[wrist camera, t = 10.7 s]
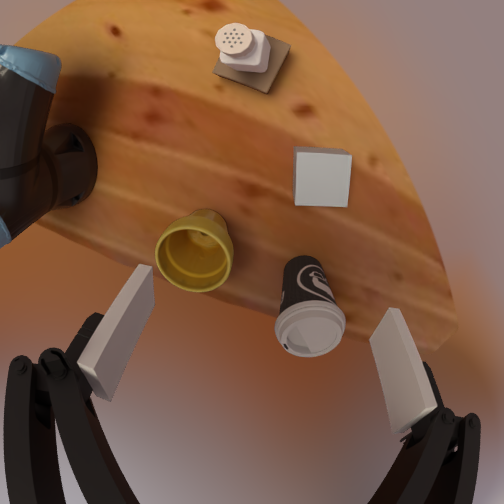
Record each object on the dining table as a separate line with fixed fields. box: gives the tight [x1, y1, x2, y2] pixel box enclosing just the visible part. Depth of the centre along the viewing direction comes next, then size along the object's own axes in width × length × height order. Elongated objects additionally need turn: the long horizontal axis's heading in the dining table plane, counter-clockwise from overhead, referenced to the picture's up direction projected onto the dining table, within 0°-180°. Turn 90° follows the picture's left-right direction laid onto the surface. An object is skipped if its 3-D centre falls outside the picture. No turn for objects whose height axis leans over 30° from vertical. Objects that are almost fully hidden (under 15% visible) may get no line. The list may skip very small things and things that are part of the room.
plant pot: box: [155, 209, 234, 292], centre depth 38 cm, size 10×10×10 cm
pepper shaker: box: [215, 23, 271, 73], centre depth 21 cm, size 4×4×10 cm
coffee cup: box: [275, 256, 346, 357], centre depth 39 cm, size 10×10×15 cm
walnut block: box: [212, 35, 291, 94], centre depth 27 cm, size 7×7×5 cm
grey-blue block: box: [293, 146, 352, 207], centre depth 35 cm, size 7×7×5 cm
